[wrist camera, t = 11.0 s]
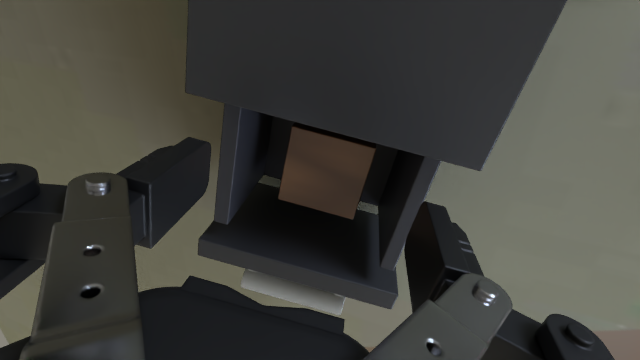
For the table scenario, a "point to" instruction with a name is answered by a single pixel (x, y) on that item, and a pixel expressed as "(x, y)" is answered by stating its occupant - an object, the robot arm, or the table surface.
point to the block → (325, 170)
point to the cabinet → (374, 66)
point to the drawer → (309, 221)
